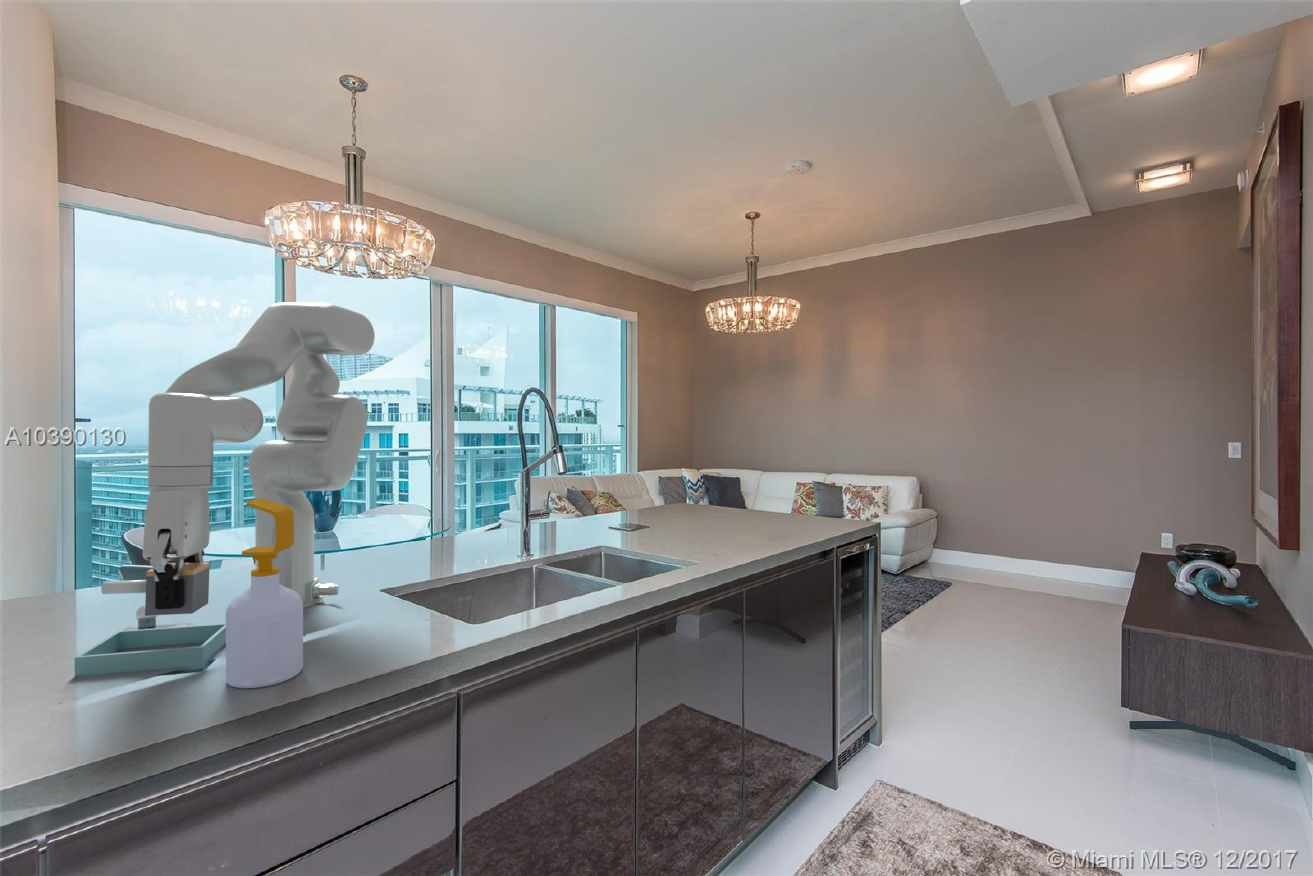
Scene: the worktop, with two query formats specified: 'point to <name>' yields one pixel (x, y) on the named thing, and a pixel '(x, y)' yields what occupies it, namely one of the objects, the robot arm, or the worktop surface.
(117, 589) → the grey block with cylinder
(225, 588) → the worktop surface
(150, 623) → the grey piece
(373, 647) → the worktop surface
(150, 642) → the bin
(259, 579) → the soap bottle
